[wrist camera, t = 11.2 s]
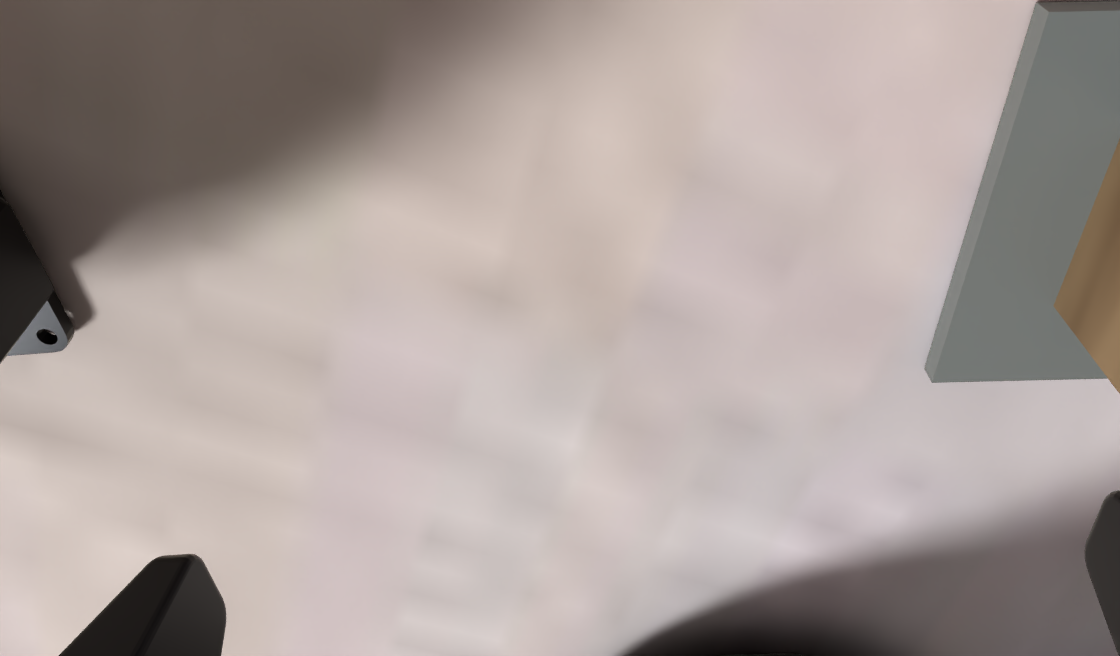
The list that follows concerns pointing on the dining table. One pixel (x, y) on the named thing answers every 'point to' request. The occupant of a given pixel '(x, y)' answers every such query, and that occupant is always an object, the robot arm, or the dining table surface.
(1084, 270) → the walnut block
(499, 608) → the dining table surface
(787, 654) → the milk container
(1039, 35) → the slate coaster
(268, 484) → the dining table surface
